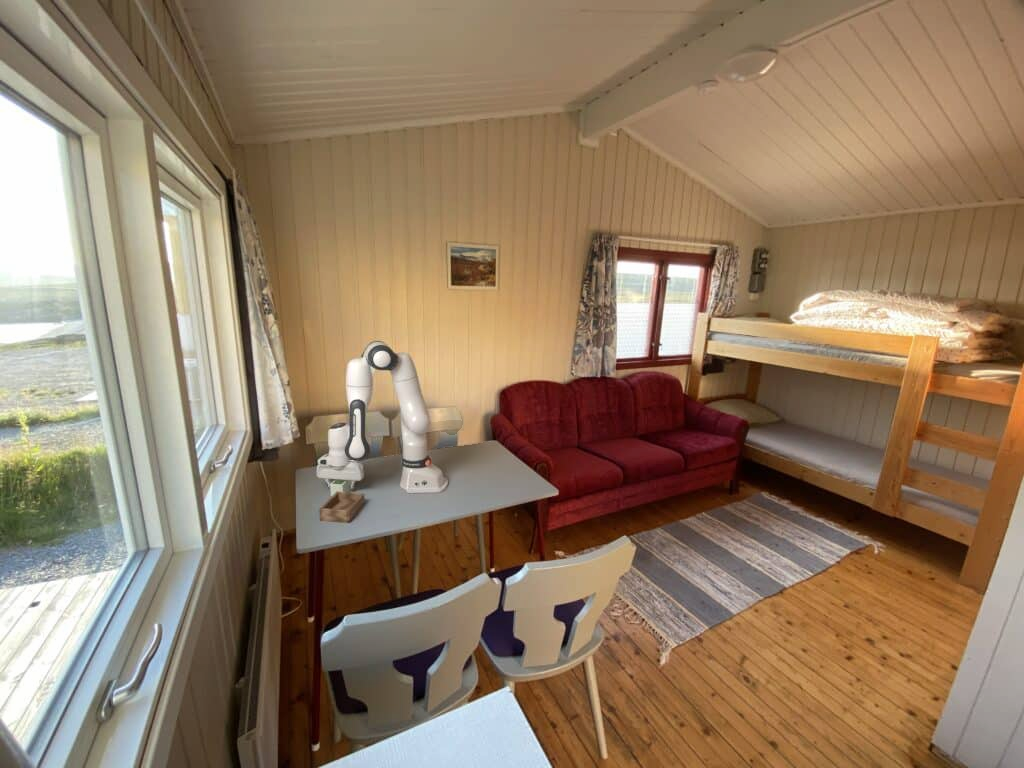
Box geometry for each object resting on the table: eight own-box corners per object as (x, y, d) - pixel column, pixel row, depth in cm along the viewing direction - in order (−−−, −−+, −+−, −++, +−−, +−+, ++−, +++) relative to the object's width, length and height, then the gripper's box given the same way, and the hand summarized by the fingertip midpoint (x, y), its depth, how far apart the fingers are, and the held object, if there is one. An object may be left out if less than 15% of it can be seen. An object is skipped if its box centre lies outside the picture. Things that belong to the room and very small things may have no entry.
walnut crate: (364, 504, 184) (364, 493, 183) (349, 523, 169) (349, 511, 168) (337, 502, 184) (336, 491, 183) (320, 520, 170) (319, 509, 169)
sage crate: (351, 488, 197) (351, 476, 196) (343, 497, 188) (342, 485, 187) (340, 487, 197) (339, 475, 196) (330, 496, 188) (330, 484, 187)
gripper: (365, 457, 192) (366, 486, 195) (321, 454, 192) (322, 482, 196) (360, 463, 185) (361, 492, 189) (313, 460, 186) (315, 489, 190)
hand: (341, 487), depth 192 cm, fingers open, 8 cm apart
